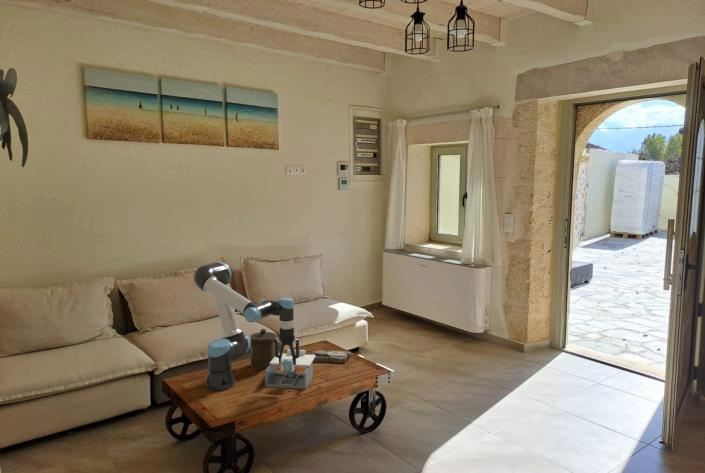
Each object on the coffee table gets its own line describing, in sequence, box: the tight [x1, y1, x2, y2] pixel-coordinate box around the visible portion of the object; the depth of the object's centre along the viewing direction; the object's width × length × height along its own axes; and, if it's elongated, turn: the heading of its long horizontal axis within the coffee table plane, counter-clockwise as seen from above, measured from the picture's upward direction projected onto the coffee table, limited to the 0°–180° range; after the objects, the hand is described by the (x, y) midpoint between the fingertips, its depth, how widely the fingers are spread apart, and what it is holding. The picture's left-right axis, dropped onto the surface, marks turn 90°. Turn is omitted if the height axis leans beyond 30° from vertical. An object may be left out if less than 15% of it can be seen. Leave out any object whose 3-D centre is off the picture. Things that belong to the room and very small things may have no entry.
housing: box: [264, 362, 314, 390], centre depth 256 cm, size 22×16×10 cm
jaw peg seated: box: [286, 366, 297, 379], centre depth 260 cm, size 5×5×6 cm
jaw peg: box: [283, 359, 292, 373], centre depth 251 cm, size 5×5×6 cm
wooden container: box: [250, 328, 277, 371], centre depth 281 cm, size 15×15×22 cm
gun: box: [309, 349, 352, 364], centre depth 292 cm, size 4×24×15 cm
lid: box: [270, 348, 316, 368], centre depth 263 cm, size 22×15×3 cm
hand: (287, 370), depth 252 cm, fingers closed on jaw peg, 5 cm apart
